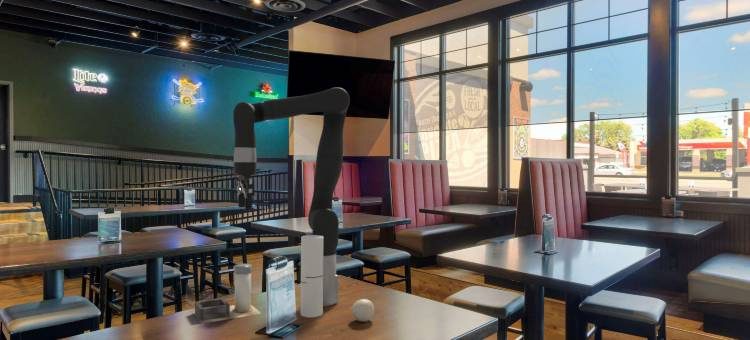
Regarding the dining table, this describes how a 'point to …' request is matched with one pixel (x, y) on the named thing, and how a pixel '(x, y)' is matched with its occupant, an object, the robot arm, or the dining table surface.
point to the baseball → (362, 310)
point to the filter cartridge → (242, 287)
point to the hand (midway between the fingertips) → (244, 208)
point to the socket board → (219, 311)
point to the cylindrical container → (311, 276)
